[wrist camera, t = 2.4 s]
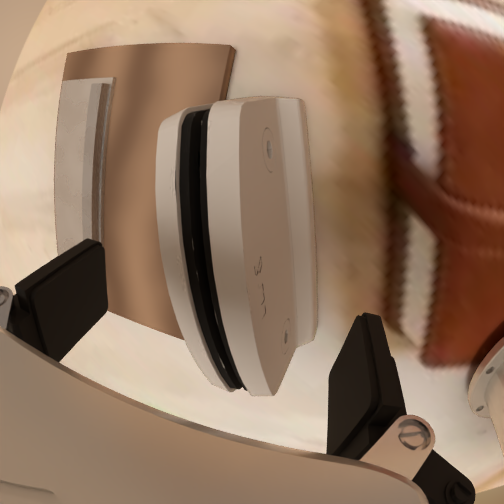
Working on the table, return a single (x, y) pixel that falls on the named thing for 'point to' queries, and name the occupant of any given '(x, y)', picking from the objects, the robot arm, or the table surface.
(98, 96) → the plate
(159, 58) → the mounting board
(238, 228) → the white arched block
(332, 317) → the table surface
